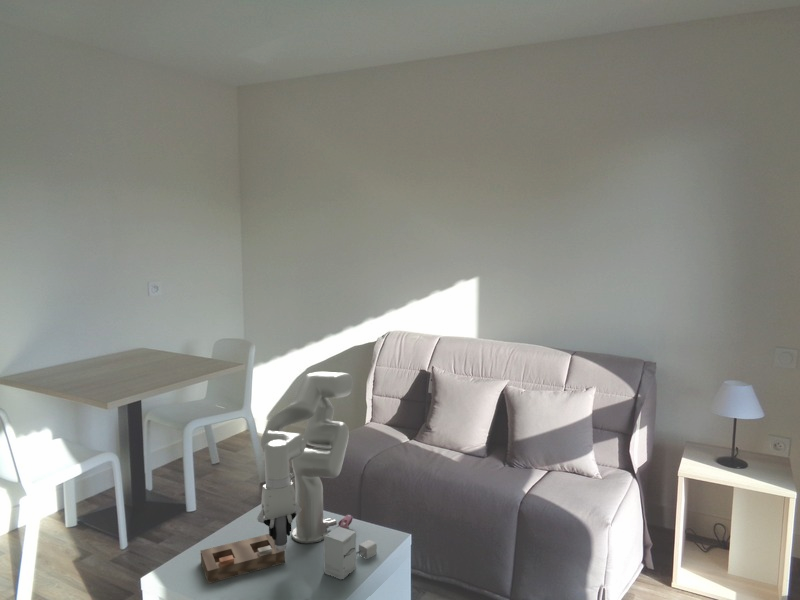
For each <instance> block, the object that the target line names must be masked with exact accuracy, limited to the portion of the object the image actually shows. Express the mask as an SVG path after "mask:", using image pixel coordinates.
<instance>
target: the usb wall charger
mask: <svg viewBox="0 0 800 600" xmlns="http://www.w3.org/2000/svg"><path fill="white" fill-rule="evenodd" d="M377 545H378V544H377V543H376V542H375V541H373V540H371V539H368V540H366V541H364V542H362V543H360V544H359V545H358V551H357V550H356V555H358V557H359V558H363V557H365V558H368V559H370V558H371V556H372V557H373V556H374V555H375V556H376V554H377V552H378V551H377ZM360 555H361V556H362V557H361V556H360ZM369 557H370V558H369ZM365 558H364V559H365Z"/></svg>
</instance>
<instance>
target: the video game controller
mask: <svg viewBox="0 0 800 600" xmlns="http://www.w3.org/2000/svg"><path fill="white" fill-rule="evenodd" d="M353 520H354V516H353V515H351V514H346V515H345V516H344V517H343V518H342V519H340V520H339V521H338V526H339V527H342V528H345V529H348V530H350V529H349V526H350V525H351V524H352V522H353Z"/></svg>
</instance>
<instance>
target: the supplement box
mask: <svg viewBox="0 0 800 600" xmlns="http://www.w3.org/2000/svg"><path fill="white" fill-rule="evenodd" d="M356 533H357V531H354V530H352V529H349V530H348V529H345V528H342V527H340V526H339V525H338V526H336V527H335V528H333V529H332V530H330V531H328V534H326V535H325V536H324V539H323V547H324V549H323V550H324V552H323V556H324V557H323V558H324V559H323V560H324V564H323V565H324V574H325V575H328V576H330V575H331V577H333V576H334V577H333V578H335V577H336V579H338V578H339V580H341V579H343V580H344V579H345V578H347V576H348V574H349V573H350V574H351V573H353V572H354V571H355V570H356V569H357V554H356V552H357V540H356V539H357V534H356ZM354 569H355V570H354ZM353 570H354V571H353ZM350 574H349V575H350Z"/></svg>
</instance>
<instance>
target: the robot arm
mask: <svg viewBox="0 0 800 600" xmlns="http://www.w3.org/2000/svg"><path fill="white" fill-rule="evenodd" d="M353 378H354V377H352V374H350V373H348V372H335V371H334V372H333V371H313V372H309V373H307V374H305V375H304V376H303V378H302V380H301V382H300V384H299V386H298V388H297V390H296V392H295V395H294V397H293V399H292V401H291V403H290V404H289V405H287V406H285V407H284V408H282V409H281V410H279V411H278V412H277V413H275V414H274V415H272V417H271V418H270V419H269V421H268V423H267V425H266V426H265V428H264V431H263V433H262V436H261V439H260V448H261V450H262V452H264V453H263V455H264V471H265V472H264V473H265V484H263V485H262V491H261V503H260V505H261V508H260V509H261V510H260V512H259V513H258V515H257V518H256V520H257V522H259V523H261V524H264V525H266V526H267V527H268V534H269V535H270V537H272V538H273V540H275V539H276V532H275V527H274V519H275V518H278V517H281V516H286V522H287V537H289V536H291V537H292V539H293V540H294V541H295V542H296V543H297V542H298V543H301V544H314V543H318V542H321V541H322V540H323V541H324V536H325V535H326V534H328V533H329V529H328V528H329V527H335V526H337V525H338V523H337V520H336V519H333V520H332V519H331V518H330V517H329V518H325V519H324V494H323V493H324V488H323V487H324V486H323V482H322V480H321V478H326V479H327V478H328V479H334V478H337V477H338V476H339V475H340V473H341V471H342V468H343V463H344V459H345V456H346V452H347V446H348V443H349V439H350V438H349V435H350V434H349V433H350V432H349V431H350V430H349V427H348V425H347V423H346V422H343V421H341V420H339V421H338V420H333V418H334V414H335V407H334V406H333V404H332V402H331V400H330V399H342V398H344V397H348V396H349V395H351V393H352V391H353V390H354V389H353V388H354V379H353ZM306 420H307V423H306V426H305V430H304V434H303V433H301V432H297V431H296V432H294V431H284V429H285V428H286V427H289V426H291V425H293V424H296V423H300V422H301V423H302V422H303V421H306ZM307 445H309V446H312V447H309V446H307ZM291 465H292V466H291ZM291 468H292V471H293V472H292V473H291ZM292 479H294V482H293V480H292ZM293 483H294V484H293ZM294 485H295V487H294ZM294 519H295V526H296V527H295V528H293V530H292V523H293V520H294Z"/></svg>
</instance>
